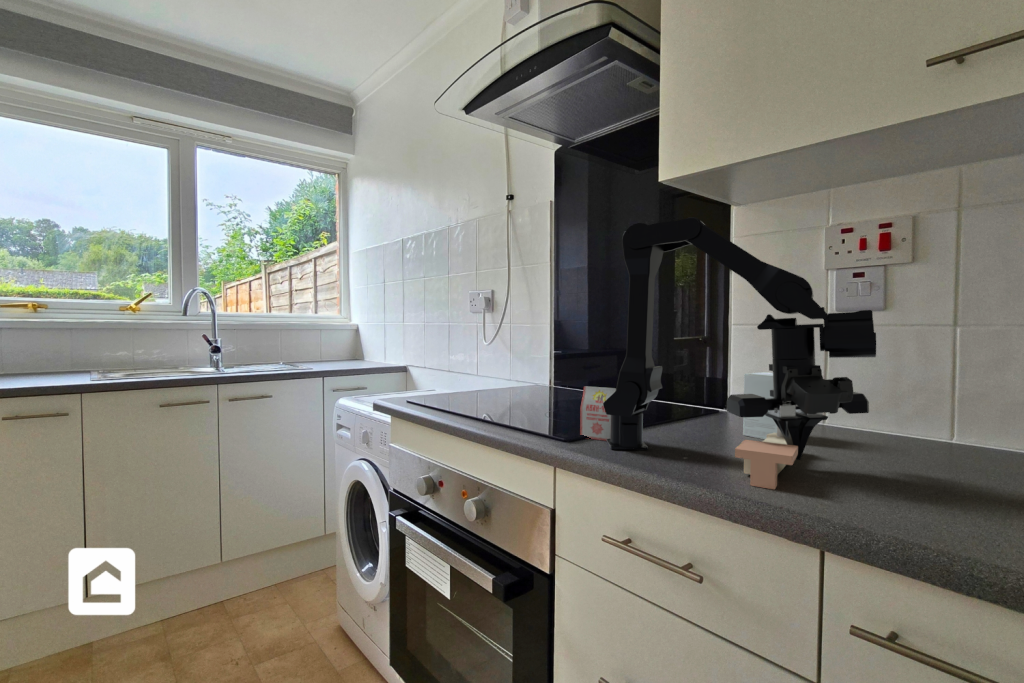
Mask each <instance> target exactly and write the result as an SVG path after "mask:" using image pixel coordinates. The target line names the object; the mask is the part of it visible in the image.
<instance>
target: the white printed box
mask: <svg viewBox="0 0 1024 683" xmlns="http://www.w3.org/2000/svg"><path fill="white" fill-rule="evenodd" d="M582 389H583V391H582V398H581V403H580V407H579V408H580V409H579V410H580V411H579V414H580V416H579V420H580V424H579V427H580V428H579V435H584V436H587V437H589V438H591V439H590V440H597V441H605V442H607V439H611V415H607V414H606V412H605V409H604V406H603V403H604V402H605V401H606V400H607V399H608V398H609V397H610V396H611V395H612V394H613V393H614V392H615V391H616V388H615V387H599V386H589V385H588V386H587V385H586V386H583V388H582ZM589 438H588V439H589Z"/></svg>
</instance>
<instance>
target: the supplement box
mask: <svg viewBox="0 0 1024 683" xmlns="http://www.w3.org/2000/svg"><path fill="white" fill-rule="evenodd" d="M770 390H773V372H763V371H762V372H750V373H749V372H748V373H744V374H743V394H755V395H758V396H761V397H765V399H767V398H774V397H771V396H770ZM768 412H769V410H768ZM742 421H743V422H742V424H743V425H742V426H743V427H742V436H745V437H751V438H755V439H761V440H765V439H766V438H767V434H771V433H777V425H776V423H775V422H774V420H773V419H772V418H770V417H767V416H765V415H764V416H763V417H746V418H745V417H742Z"/></svg>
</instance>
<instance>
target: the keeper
mask: <svg viewBox="0 0 1024 683" xmlns="http://www.w3.org/2000/svg"><path fill="white" fill-rule="evenodd" d="M797 455H798V446H795V445H786V444H778V443H770V442H762V441H759V440H751V439H743V440H742V441H741V443H740V444H739V445H738V446H736V447H735V448H734V458H738V459H743V460H744V459H751V472H750V474H749V475H750V476H749V477H750V480H749V482H750V484H749V485H750V486H752V487H757V488H764V489H769V490H775V489H776V488H777V486H778V475H777V463H779V464H786V466H793V464H795V461H796V457H797Z"/></svg>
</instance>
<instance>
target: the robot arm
mask: <svg viewBox="0 0 1024 683" xmlns="http://www.w3.org/2000/svg"><path fill="white" fill-rule="evenodd" d="M621 246H622V254H623V260H624V263H625V264H624V265H625V266H626V269H627V274H628V276H629V277H628V278H629V279H628V281H629V282H628V300H627V302H628V304H627V326H626V327H627V331H626V350H625V351H626V352H625V353H626V354H625V356H624V357H625V358H624V360H623V362H622V365H621V367H620V370H619V372H618V378H617V380H616V381H617V383H616V391H615V392H614V393H613V394H612V395H611V396H610V397H609V398H608V399H607V400H606V401H605V402H604V403H603V406H604V409H605V412H606V414H607V415H611V439H607V441H606V443H607V445H608V447H609V448H610V449H611V450H635V451H636V450H637V451H638V450H639V451H642V450H643V451H644V450H649V449H648V448H649V447H648V445H647V444H646V443H645V441H644V440H643V439H644V438H643V436H644V435H643V434H644V432H643V430H644V426H643V423H644V420H643V419H644V412H643V411H647V409H648V407H649V405H650V403H651V402H652V401H653V400H655V399H656V397H657V396H658V394H659V391H660V389H663V384H662V373H663V365H658V366H656V365H655V362H654V359H653V334H654V333H653V332H654V331H653V330H654V313H655V312H654V308H655V289H656V288H655V287H656V286H655V285H656V281H655V280H656V276H657V274H658V271H659V269H660V266H661V263H662V261H663V257H664V256H663V255H664V253H667V252H671V251H675V250H678V249H681V248H684V247H686V246H694V247H696V248H697V249H699V250H701V251H702V252H703V253H705V254H707V255H708V256H709V257H711V258H712V259H714V260H715V261H717V262H719V263H720V264H721V265H723V266H724V267H725V268H728V269H729V270H731V271H732V272H734V273H735V274H736V275H738V276H739V277H741V278H742V279H744V280H745V281H746V282H747V283H748V284H750V285H751V287H752V288H753V289H755V291H757V293H758V294H759V295H760V296H761V297H762V298H763V299H764V301H766V302H767V303H769V305H770V306H771V307H773V308H774V309H775V310H776V311H778V312H780V313H783V314H786V315H797V314H800V315H802V316H804V317H806V318H808V319H810V320H823V323H810V324H808V323H807V324H805V323H804V324H798V319H797V317H785V318H784V317H782V318H781V317H780V318H775V317H774V316H773V315H772V314H771V313H767V315H766V316H765V318H764V319H763V321H762V322H760V323H759V324H758V325H757V326H756V327H757V330H761V331H763V330H770V331H771V350H772V351H771V355H772V356H771V357H772V358H771V359H772V363H769V364H768V371H771V372H772V373H773V390H770V396H771V397H774V398H767V399H765V397H761V396H758V395H755V394H744V393H739V394H738V393H737V394H735V393H734V394H730V395H729V396H728V398H727V400H726V412H728V413H729V414H731V415H733V416H734V415H735V416H736V417H739V418H743V417H745V418H746V417H763V416H764V415H765V416H767V417H770V418H772V419H773V420H774V422H775V423H776V425H777V426H778V428H779V430H780V431H781V433H782V435H783V437H784V439H785V441H786V443H787V445H795V446H798V455H797V457H796V459H795V461H800V460H801V458H802V456H803V453H804V450H805V448H806V446H807V443H808V441H809V438H810V435H811V434H812V432H813V430H814V428H815V427H816V426H817V425H818V424H819V423H820V422H822V421H827V420H828V418H829V416H827V415H824V414H825V413H827V414H828V413H829V414H832V415H833V414H834V415H835V414H837V413H838V412H839V409H842V410H843V411H844V412H846V414H850V415H851V414H852V415H853V414H869V413H870V402H869V400H868V398H867V396H865V394H864V393H862V392H858V391H857V392H856V391H854V385H853V380H852V379H850V378H849V377H847V376H841V377H839V376H837V377H833V378H832V379H826V378H824V376H823V374H822V373H823V372H822V368H821V365H819V364H816V345H815V344H816V343H815V328H817V329H819V351H820V352H828V357H829V358H830V359H831V358H832V359H833V358H836V359H838V358H839V359H841V358H842V359H843V358H844V359H845V358H846V359H847V358H876V357H877V332H875V327H874V326H875V325H874V319H873V318H874V317H873V310H872V309H865V310H864V309H863V310H858V311H853V312H852V311H849V312H848V311H847V312H833V313H830V312H829V313H827V312H826V310H825V306H824V307H823V306H822V307H821V306H820V305H819V304H818V302H816V300H814V290H813V288H812V286H811V284H810V283H809V282H808V281H807V279H805V278H804V277H802V276H800V275H798V274H796V273H794V272H793V273H792V272H790V271H788V270H785V269H783V268H780V267H778V266H776V265H772V264H770V263H768V262H766V261H765V262H764V261H763V260H761V259H759V258H757V257H756V256H754V255H753V254H752V253H750V252H748V251H746V250H744V249H743V248H741V247H740V246H738V245H737V244H735V243H734V242H733V241H730V240H729V239H727V238H726V237H724V236H723V235H721V234H719V232H716V231H715V230H714V229H712V228H710V227H709V226H707V225H706V224H705V223H704V222H703V221H702V220H701V219H699V218H697V217H694V216H693V217H692V216H691V217H687V218H683V219H678V220H671V221H665V222H657V223H652V224H646V223H643V222H637V223H634V224H632V225H630V226H629V227H628V228H627V229H626V230H625V231H623V234H622V238H621ZM768 410H769V412H768ZM823 413H824V414H823Z"/></svg>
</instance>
